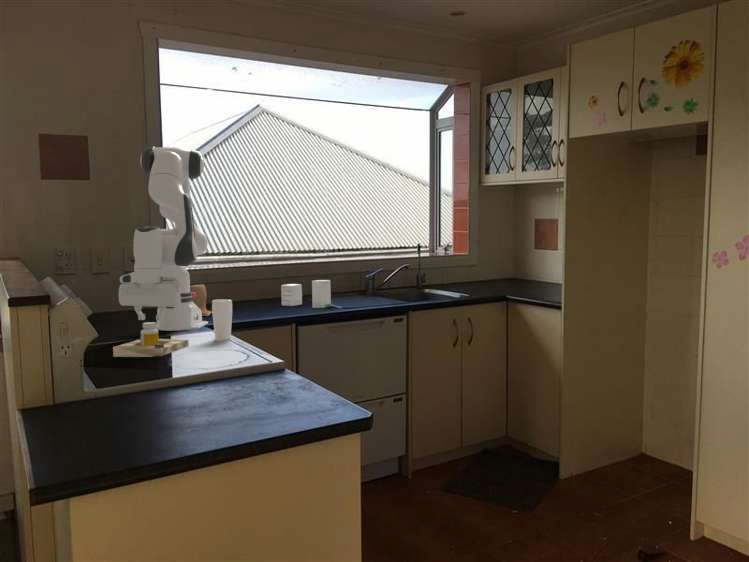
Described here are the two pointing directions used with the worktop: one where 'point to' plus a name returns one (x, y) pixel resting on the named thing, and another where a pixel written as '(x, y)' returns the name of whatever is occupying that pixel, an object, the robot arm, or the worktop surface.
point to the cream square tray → (149, 348)
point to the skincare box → (321, 293)
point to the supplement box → (291, 294)
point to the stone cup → (200, 298)
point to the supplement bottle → (149, 334)
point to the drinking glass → (222, 318)
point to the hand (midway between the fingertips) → (150, 320)
